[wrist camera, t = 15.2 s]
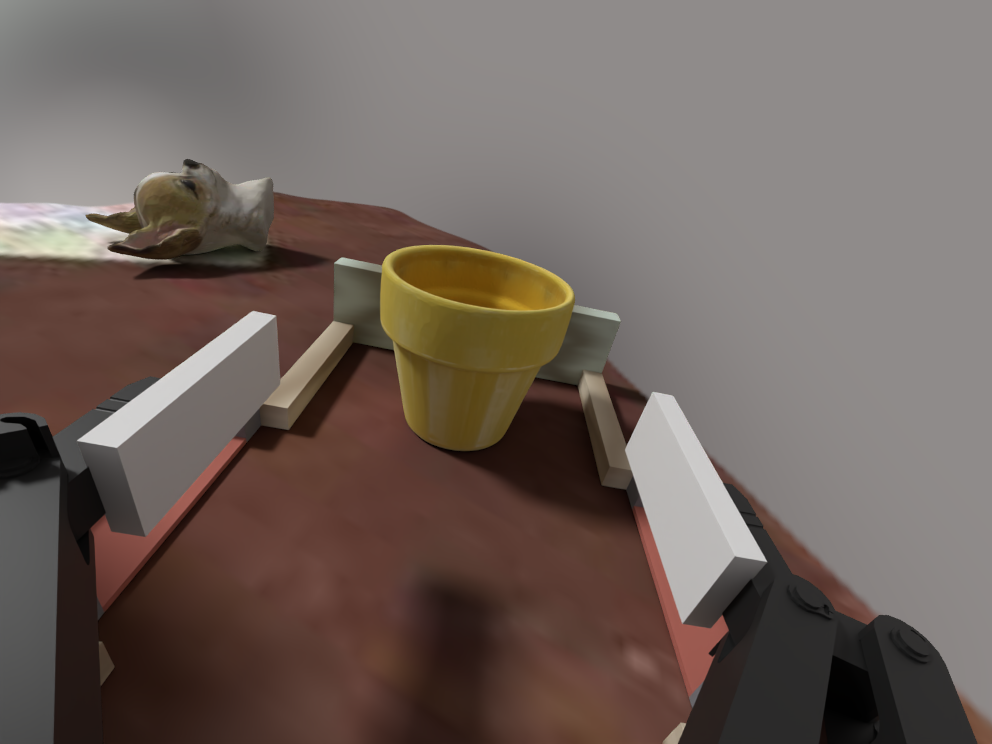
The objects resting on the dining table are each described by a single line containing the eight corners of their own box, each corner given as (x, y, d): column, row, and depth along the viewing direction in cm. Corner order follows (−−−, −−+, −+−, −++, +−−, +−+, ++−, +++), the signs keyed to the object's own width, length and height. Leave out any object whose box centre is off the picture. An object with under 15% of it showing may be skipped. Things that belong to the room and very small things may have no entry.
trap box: (-418, 1236, 6) (-1059, 1354, 3) (340, 330, 35) (341, 257, 32) (871, 1297, 8) (1204, 1419, 5) (592, 379, 36) (616, 313, 33)
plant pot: (412, 360, 33) (427, 231, 28) (543, 399, 32) (582, 272, 27) (339, 440, 24) (342, 272, 19) (517, 498, 23) (568, 335, 18)
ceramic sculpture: (293, 172, 40) (82, 171, 31) (302, 261, 45) (121, 285, 35) (248, 150, 46) (59, 144, 36) (260, 232, 51) (95, 245, 41)
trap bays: (-108, 636, 13) (-135, 608, 12) (167, 408, 23) (162, 385, 23) (838, 766, 15) (865, 748, 14) (707, 503, 25) (718, 485, 25)
